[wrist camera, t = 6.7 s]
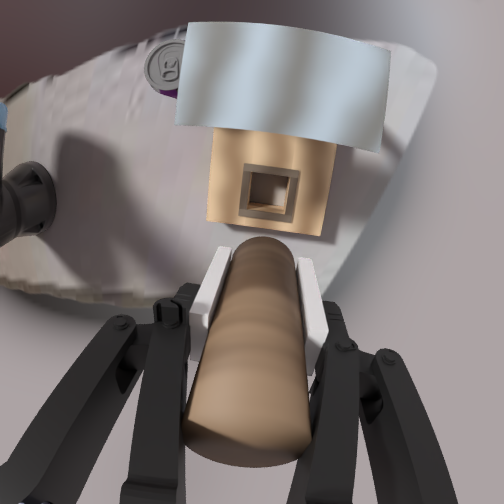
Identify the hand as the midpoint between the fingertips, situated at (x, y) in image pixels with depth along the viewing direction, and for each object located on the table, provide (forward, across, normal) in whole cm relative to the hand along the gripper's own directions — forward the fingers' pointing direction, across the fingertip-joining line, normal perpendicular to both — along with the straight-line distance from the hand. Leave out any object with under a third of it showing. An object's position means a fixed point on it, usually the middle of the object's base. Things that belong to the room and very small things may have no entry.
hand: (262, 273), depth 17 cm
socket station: (+26, 0, +6) cm, 27 cm away
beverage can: (+26, -12, +15) cm, 33 cm away
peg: (+1, 0, 0) cm, 1 cm away
